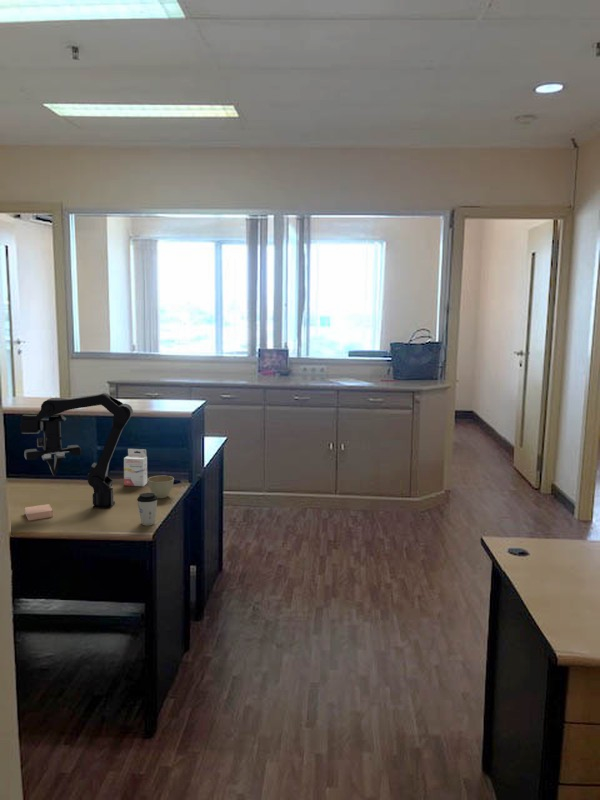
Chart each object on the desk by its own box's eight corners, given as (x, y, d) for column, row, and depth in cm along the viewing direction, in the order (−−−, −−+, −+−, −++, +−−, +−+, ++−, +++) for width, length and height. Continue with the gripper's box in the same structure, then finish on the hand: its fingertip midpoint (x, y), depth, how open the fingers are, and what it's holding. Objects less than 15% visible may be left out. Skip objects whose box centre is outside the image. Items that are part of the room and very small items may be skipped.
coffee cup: (160, 519, 212) (159, 491, 210) (156, 526, 205) (155, 497, 203) (140, 519, 212) (139, 491, 210) (135, 526, 205) (134, 497, 203)
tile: (48, 504, 220) (24, 507, 215) (52, 510, 213) (27, 514, 209) (49, 511, 220) (25, 514, 216) (53, 517, 213) (28, 521, 209)
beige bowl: (171, 500, 233) (171, 482, 232) (145, 500, 233) (144, 482, 232) (176, 492, 243) (176, 475, 242) (151, 492, 243) (151, 475, 242)
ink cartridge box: (123, 485, 252) (122, 451, 249) (128, 482, 256) (127, 448, 254) (143, 486, 251) (143, 451, 249) (148, 483, 256) (147, 449, 253)
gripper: (74, 427, 231) (76, 467, 233) (21, 431, 221) (23, 473, 224) (81, 432, 222) (82, 474, 224) (25, 437, 212) (27, 480, 214)
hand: (54, 475), depth 222 cm, fingers closed
